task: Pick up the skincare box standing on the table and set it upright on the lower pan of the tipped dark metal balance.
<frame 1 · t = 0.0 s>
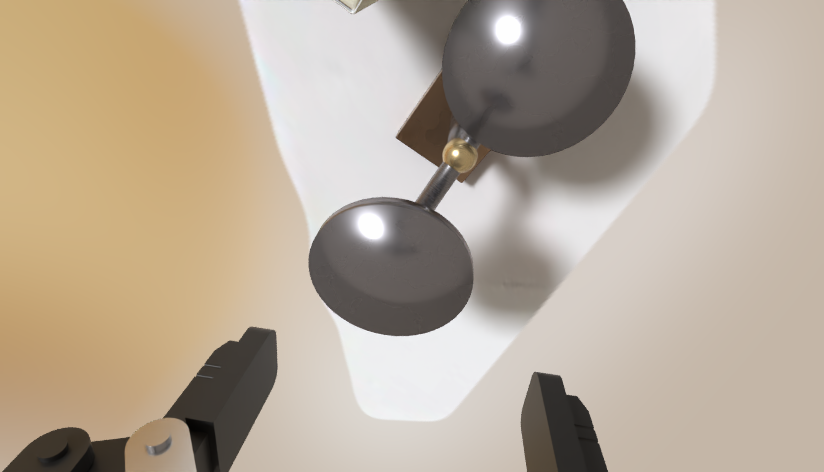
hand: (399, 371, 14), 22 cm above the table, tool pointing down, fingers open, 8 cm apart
balance: (463, 112, 31), on the table
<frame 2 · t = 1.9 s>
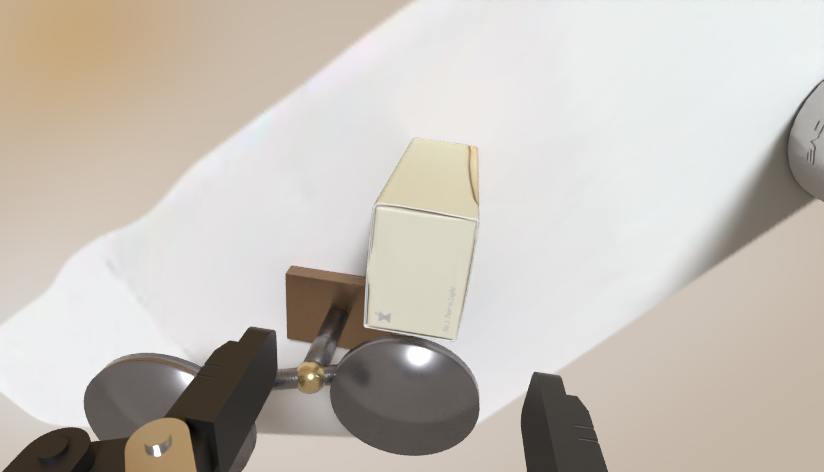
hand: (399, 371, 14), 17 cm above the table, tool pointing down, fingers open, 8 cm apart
skincare box: (437, 183, 29), on the table
balance: (342, 306, 34), on the table
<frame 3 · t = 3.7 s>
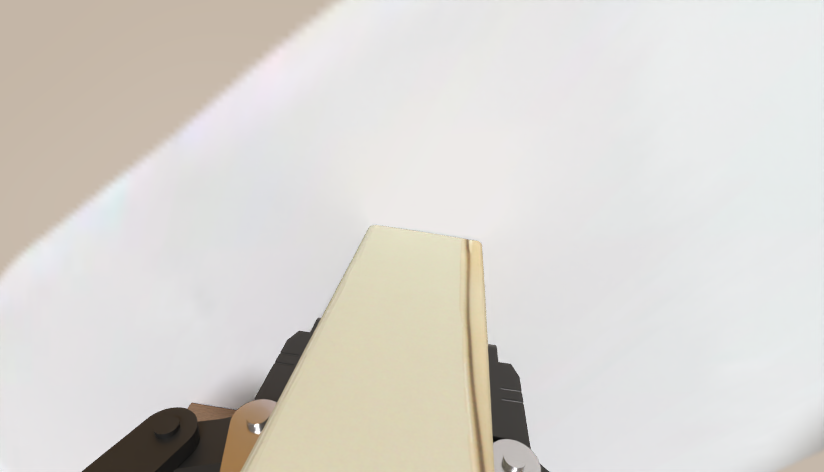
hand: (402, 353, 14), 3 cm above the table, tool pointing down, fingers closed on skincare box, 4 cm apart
skincare box: (413, 293, 18), on the table, touching gripper
balance: (273, 457, 22), on the table
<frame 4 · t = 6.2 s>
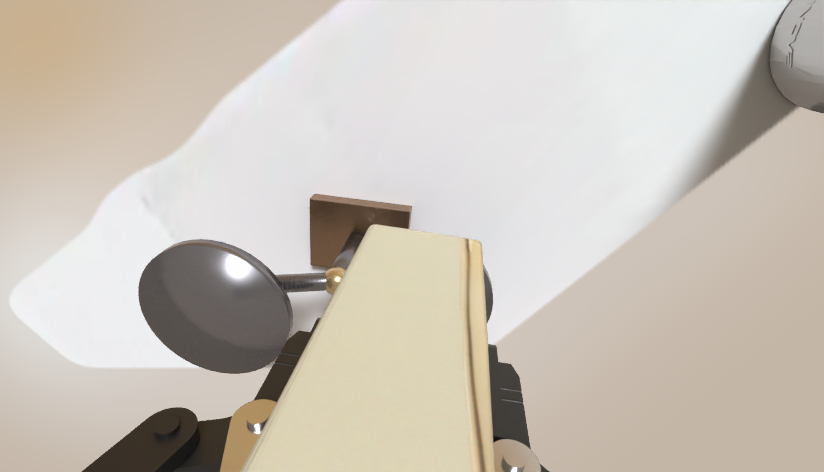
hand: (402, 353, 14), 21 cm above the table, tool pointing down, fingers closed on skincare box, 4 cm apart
skincare box: (413, 293, 18), point 18 cm above the table, touching gripper
balance: (361, 233, 37), on the table
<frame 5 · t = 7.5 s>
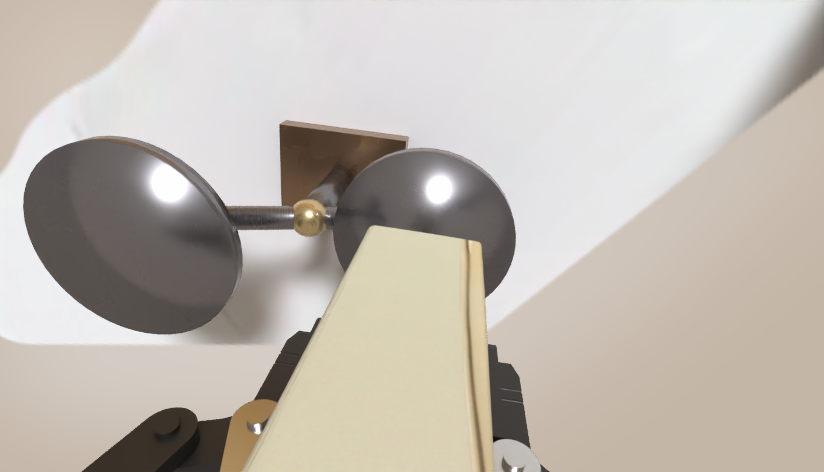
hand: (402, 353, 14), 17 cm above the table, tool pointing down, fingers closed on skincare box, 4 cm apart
skincare box: (413, 294, 18), point 13 cm above the table, touching gripper
balance: (345, 173, 30), on the table
when the fingers open (13 cm above the table, at t = 8.5 s): skincare box drops 1 cm, resting on balance.
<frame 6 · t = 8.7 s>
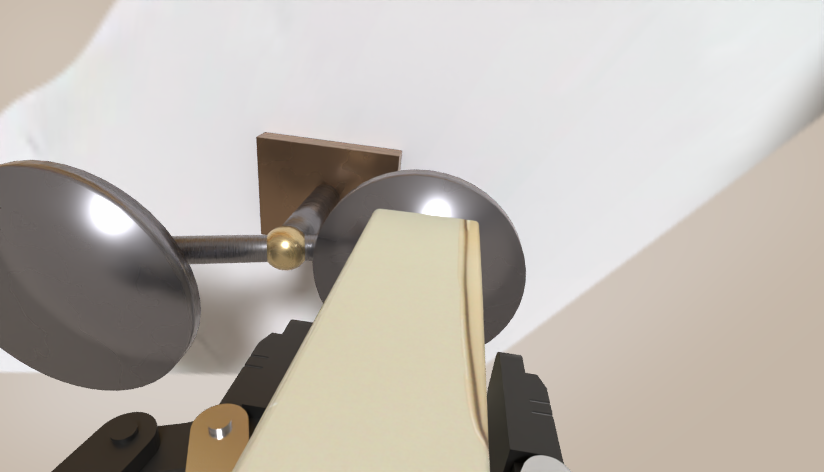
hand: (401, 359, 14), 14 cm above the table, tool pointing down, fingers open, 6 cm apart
skincare box: (417, 273, 19), point 8 cm above the table, touching balance
balance: (331, 190, 27), on the table
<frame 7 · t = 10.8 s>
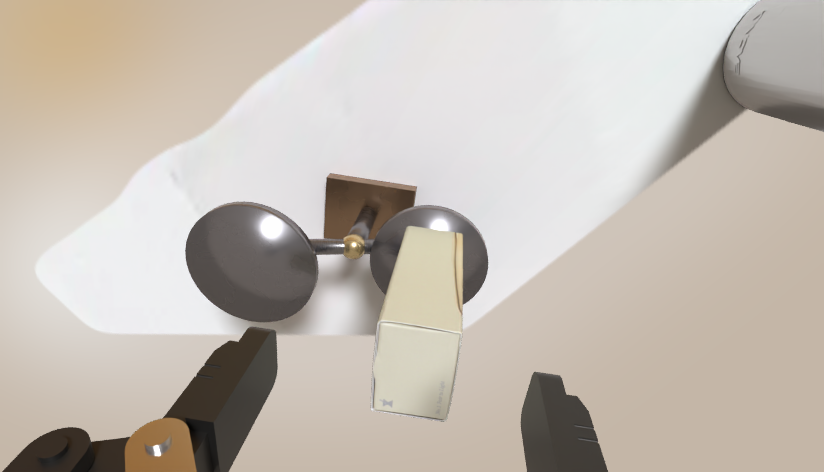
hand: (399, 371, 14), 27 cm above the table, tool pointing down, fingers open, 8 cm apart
skincare box: (428, 261, 34), point 8 cm above the table, touching balance
balance: (370, 210, 41), on the table
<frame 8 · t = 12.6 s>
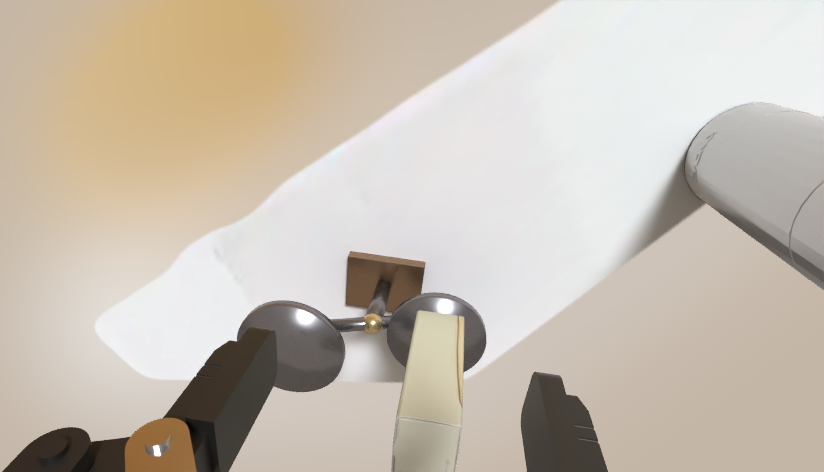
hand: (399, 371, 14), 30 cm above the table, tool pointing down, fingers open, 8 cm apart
skincare box: (436, 337, 40), point 8 cm above the table, touching balance
balance: (385, 280, 48), on the table
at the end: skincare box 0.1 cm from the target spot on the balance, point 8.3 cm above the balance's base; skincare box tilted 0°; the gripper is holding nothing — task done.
